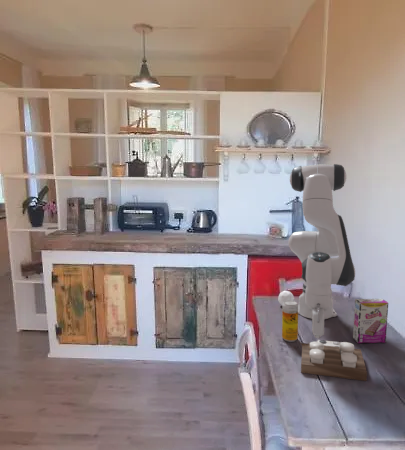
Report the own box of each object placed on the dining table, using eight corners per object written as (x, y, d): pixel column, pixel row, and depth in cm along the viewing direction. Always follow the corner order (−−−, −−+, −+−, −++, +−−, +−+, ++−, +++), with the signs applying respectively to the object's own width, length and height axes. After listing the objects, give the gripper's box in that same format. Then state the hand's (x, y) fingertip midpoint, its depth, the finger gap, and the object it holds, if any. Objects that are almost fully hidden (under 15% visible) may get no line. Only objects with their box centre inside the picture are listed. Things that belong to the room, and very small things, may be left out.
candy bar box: (358, 344, 142) (359, 303, 140) (352, 338, 147) (354, 298, 145) (386, 343, 143) (389, 302, 141) (380, 337, 148) (382, 297, 146)
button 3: (309, 359, 128) (309, 348, 127) (324, 360, 126) (324, 349, 126) (309, 366, 123) (309, 354, 123) (324, 368, 122) (324, 356, 121)
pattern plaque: (317, 341, 145) (317, 339, 145) (341, 343, 143) (341, 341, 143) (317, 349, 139) (317, 347, 139) (343, 352, 136) (343, 350, 136)
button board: (302, 350, 138) (302, 343, 137) (360, 357, 132) (360, 349, 132) (300, 372, 123) (301, 364, 122) (366, 381, 117) (366, 372, 117)
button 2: (338, 352, 133) (339, 341, 132) (353, 353, 131) (353, 342, 131) (339, 358, 128) (340, 347, 127) (354, 360, 127) (355, 349, 126)
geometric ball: (290, 311, 184) (297, 302, 179) (275, 306, 184) (282, 297, 179) (289, 300, 190) (297, 290, 185) (275, 295, 190) (282, 285, 185)
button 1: (309, 351, 136) (309, 340, 135) (323, 352, 134) (323, 342, 134) (309, 357, 131) (309, 346, 130) (323, 359, 130) (324, 348, 129)
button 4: (340, 362, 125) (340, 351, 124) (355, 364, 124) (356, 353, 123) (341, 370, 120) (341, 358, 120) (357, 372, 119) (357, 360, 119)
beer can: (286, 343, 144) (287, 306, 142) (279, 336, 150) (279, 301, 148) (300, 341, 146) (301, 304, 144) (292, 334, 152) (293, 299, 150)
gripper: (329, 311, 119) (327, 351, 121) (326, 290, 139) (325, 325, 141) (308, 309, 121) (307, 349, 123) (309, 289, 140) (308, 324, 143)
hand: (317, 336), depth 132 cm, fingers closed
